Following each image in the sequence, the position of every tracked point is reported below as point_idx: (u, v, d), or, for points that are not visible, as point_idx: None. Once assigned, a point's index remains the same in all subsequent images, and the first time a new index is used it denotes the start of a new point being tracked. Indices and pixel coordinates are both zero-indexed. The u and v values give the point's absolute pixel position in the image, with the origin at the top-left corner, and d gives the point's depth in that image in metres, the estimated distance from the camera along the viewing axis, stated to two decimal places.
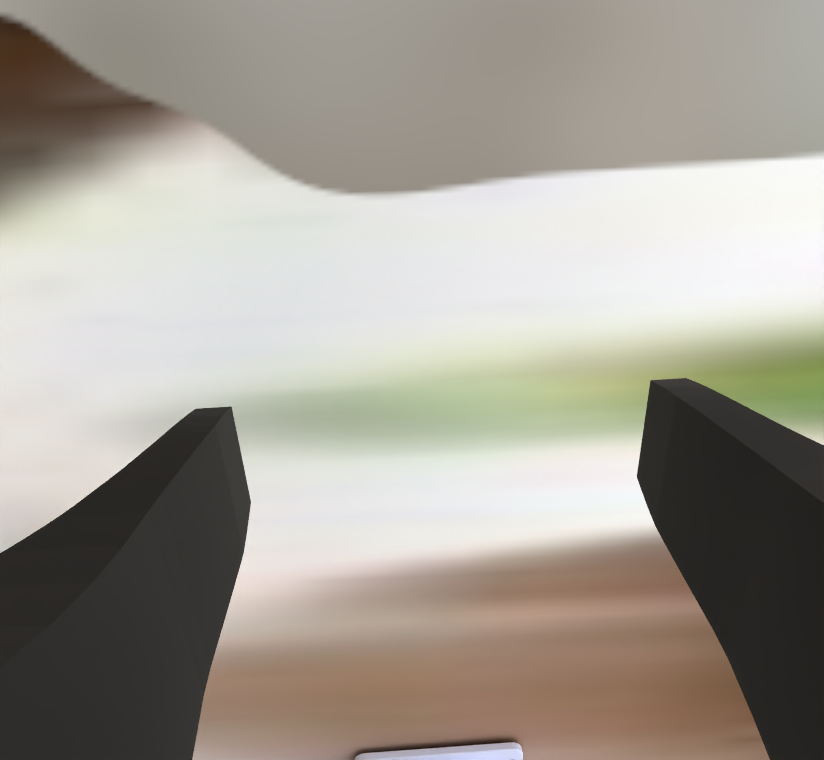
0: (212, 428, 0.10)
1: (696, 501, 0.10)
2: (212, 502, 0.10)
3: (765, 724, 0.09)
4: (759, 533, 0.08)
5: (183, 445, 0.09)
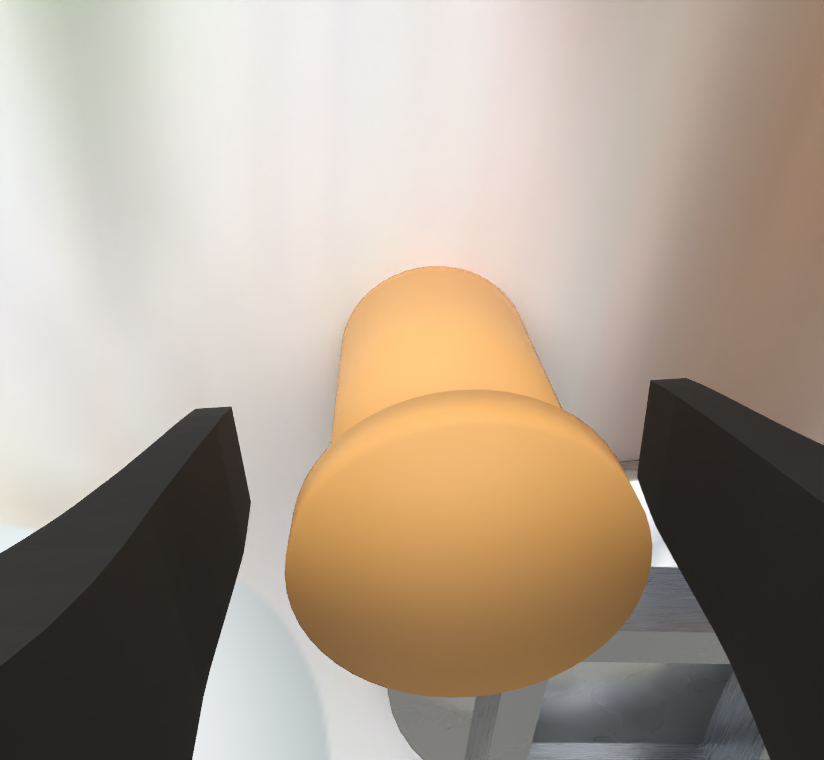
0: (212, 428, 0.10)
1: (696, 501, 0.10)
2: (212, 502, 0.10)
3: (765, 724, 0.09)
4: (759, 533, 0.08)
5: (183, 445, 0.09)
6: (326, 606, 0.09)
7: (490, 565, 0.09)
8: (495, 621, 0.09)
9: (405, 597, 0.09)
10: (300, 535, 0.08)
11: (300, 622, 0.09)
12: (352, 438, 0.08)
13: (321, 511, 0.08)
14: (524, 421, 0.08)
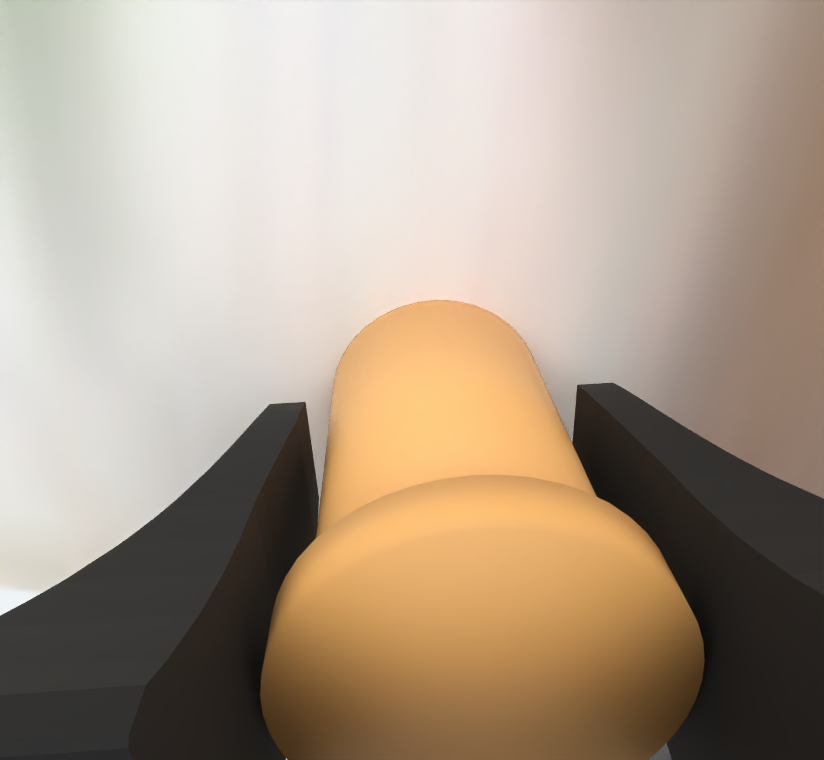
0: (294, 423, 0.10)
1: None
2: (295, 497, 0.10)
3: None
4: (662, 539, 0.08)
5: (270, 439, 0.09)
6: (311, 730, 0.07)
7: (509, 682, 0.07)
8: (513, 742, 0.08)
9: (406, 719, 0.07)
10: (278, 654, 0.07)
11: (280, 746, 0.08)
12: (341, 534, 0.07)
13: (303, 627, 0.07)
14: (553, 520, 0.06)
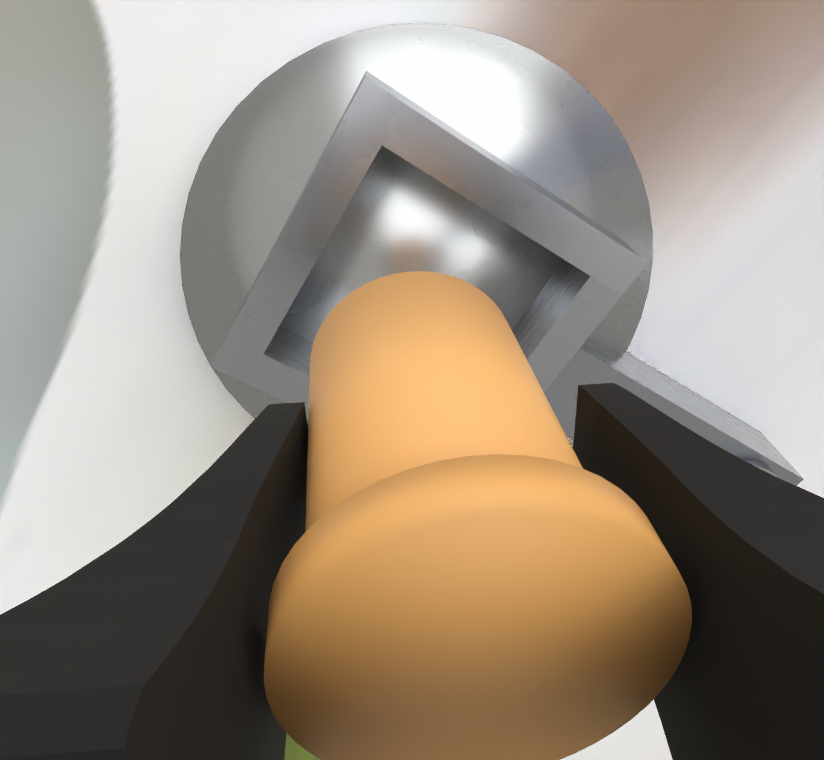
0: (293, 423, 0.10)
1: None
2: (294, 497, 0.10)
3: (671, 731, 0.09)
4: (663, 539, 0.08)
5: (269, 439, 0.09)
6: (315, 709, 0.08)
7: (506, 653, 0.07)
8: (511, 707, 0.08)
9: (408, 692, 0.08)
10: (281, 641, 0.07)
11: (284, 726, 0.08)
12: (340, 521, 0.07)
13: (306, 614, 0.07)
14: (551, 498, 0.06)
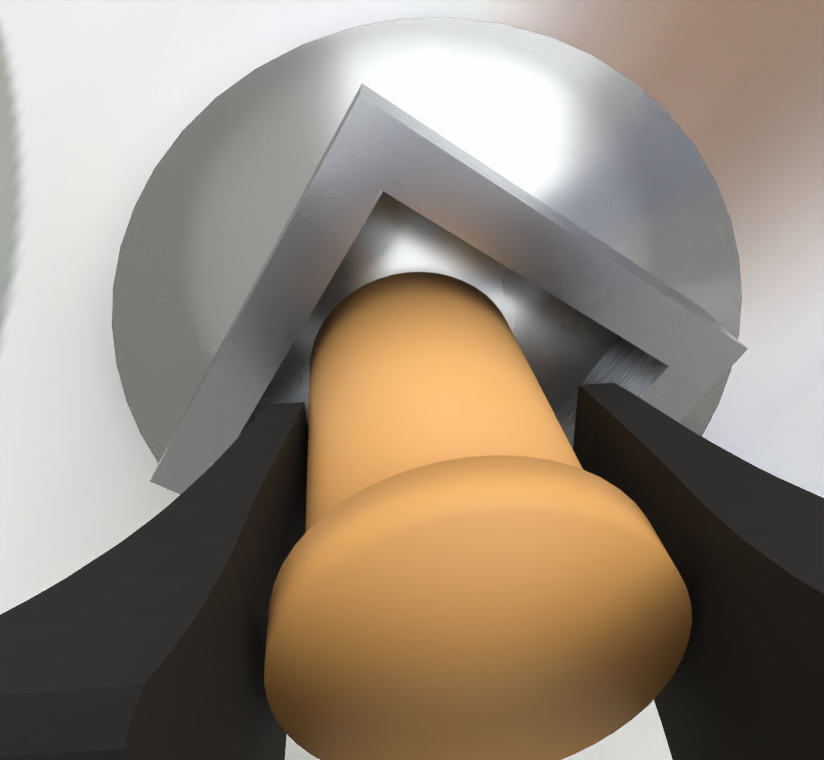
0: (293, 423, 0.10)
1: None
2: (294, 497, 0.10)
3: (671, 732, 0.09)
4: (663, 539, 0.08)
5: (269, 439, 0.09)
6: (315, 710, 0.08)
7: (507, 654, 0.07)
8: (511, 707, 0.08)
9: (407, 693, 0.08)
10: (281, 642, 0.07)
11: (284, 727, 0.08)
12: (340, 522, 0.07)
13: (306, 615, 0.07)
14: (550, 499, 0.06)
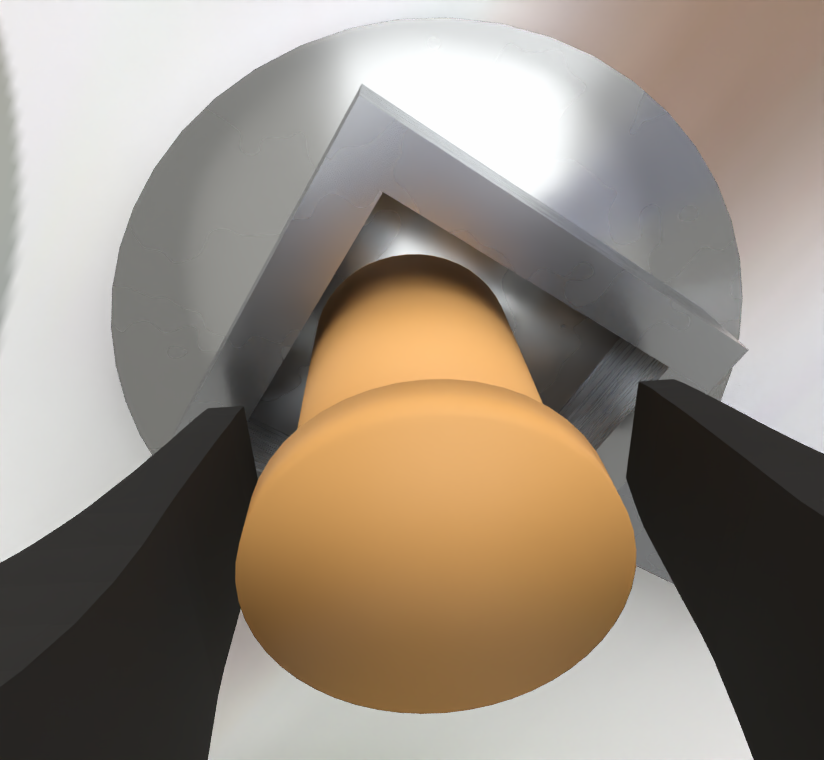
0: (226, 427, 0.10)
1: (682, 502, 0.10)
2: (226, 501, 0.10)
3: (750, 726, 0.09)
4: (743, 534, 0.08)
5: (198, 444, 0.09)
6: (282, 617, 0.08)
7: (459, 571, 0.08)
8: (467, 631, 0.09)
9: (368, 606, 0.08)
10: (250, 541, 0.08)
11: (255, 634, 0.08)
12: (306, 433, 0.08)
13: (271, 513, 0.07)
14: (491, 412, 0.07)
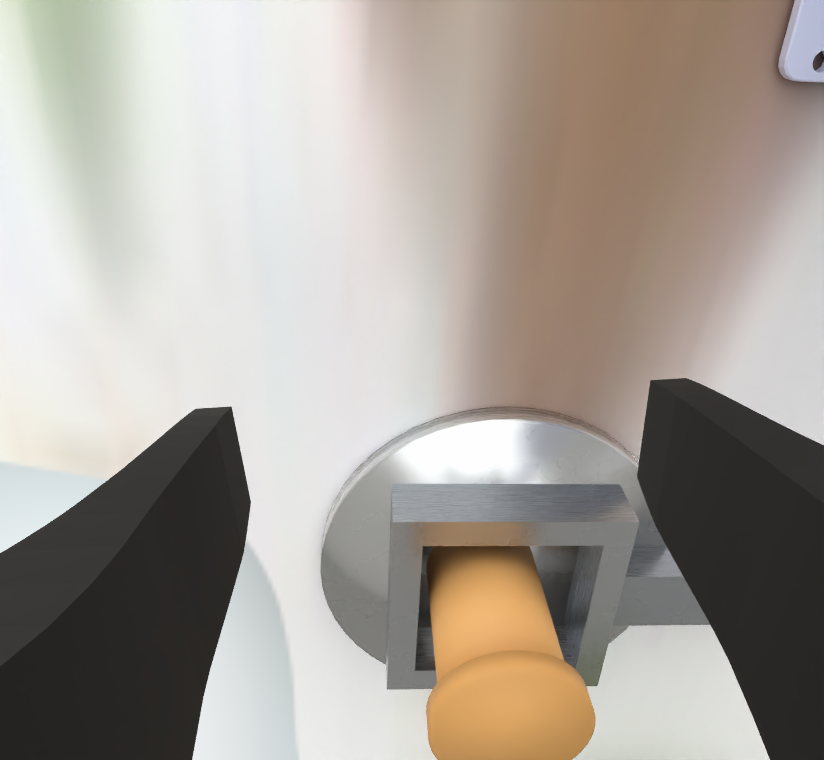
0: (212, 428, 0.10)
1: (696, 501, 0.10)
2: (212, 502, 0.10)
3: (765, 724, 0.09)
4: (759, 533, 0.08)
5: (183, 445, 0.09)
6: None
7: (517, 723, 0.19)
8: (536, 741, 0.19)
9: (490, 747, 0.20)
10: (432, 743, 0.19)
11: None
12: (433, 697, 0.19)
13: (435, 732, 0.19)
14: (492, 674, 0.18)
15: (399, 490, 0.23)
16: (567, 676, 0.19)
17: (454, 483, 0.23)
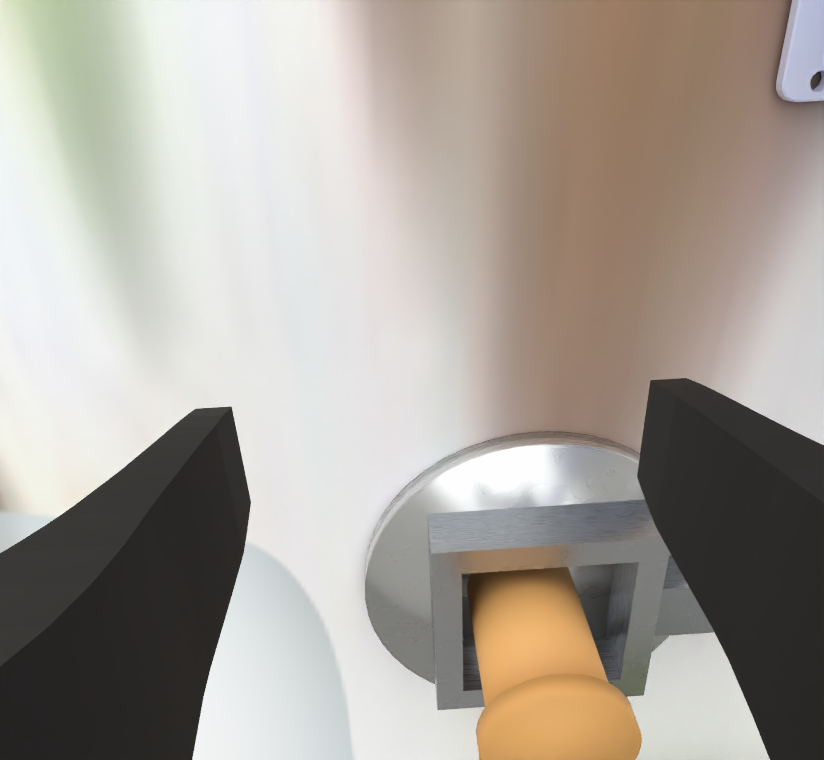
0: (212, 428, 0.10)
1: (696, 501, 0.10)
2: (212, 502, 0.10)
3: (766, 725, 0.09)
4: (759, 533, 0.08)
5: (183, 445, 0.09)
6: None
7: (565, 744, 0.20)
8: (585, 759, 0.20)
9: None
10: None
11: None
12: (482, 722, 0.20)
13: (486, 756, 0.20)
14: (537, 698, 0.19)
15: (435, 520, 0.23)
16: (610, 697, 0.19)
17: (488, 509, 0.24)
